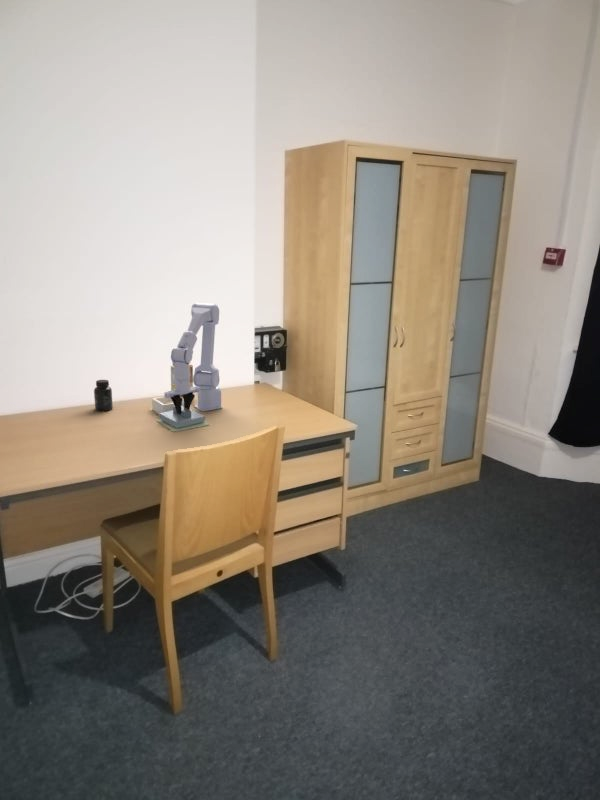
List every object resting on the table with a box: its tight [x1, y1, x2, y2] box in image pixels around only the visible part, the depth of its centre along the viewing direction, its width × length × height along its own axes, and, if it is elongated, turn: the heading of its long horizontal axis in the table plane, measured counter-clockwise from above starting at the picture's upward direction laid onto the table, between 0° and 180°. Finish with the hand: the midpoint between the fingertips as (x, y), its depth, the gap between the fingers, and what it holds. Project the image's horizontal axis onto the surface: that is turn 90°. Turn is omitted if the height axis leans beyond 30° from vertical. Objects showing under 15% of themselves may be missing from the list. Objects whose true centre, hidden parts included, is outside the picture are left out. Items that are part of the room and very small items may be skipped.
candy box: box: [170, 364, 194, 398], centre depth 250 cm, size 9×4×15 cm, turn 129°
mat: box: [156, 419, 210, 433], centre depth 221 cm, size 15×15×1 cm
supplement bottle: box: [93, 379, 114, 412], centre depth 232 cm, size 7×7×12 cm
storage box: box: [151, 396, 184, 415], centre depth 233 cm, size 11×11×5 cm
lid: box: [158, 406, 206, 428], centre depth 220 cm, size 12×12×5 cm
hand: (182, 412), depth 220 cm, fingers closed on lid, 3 cm apart
